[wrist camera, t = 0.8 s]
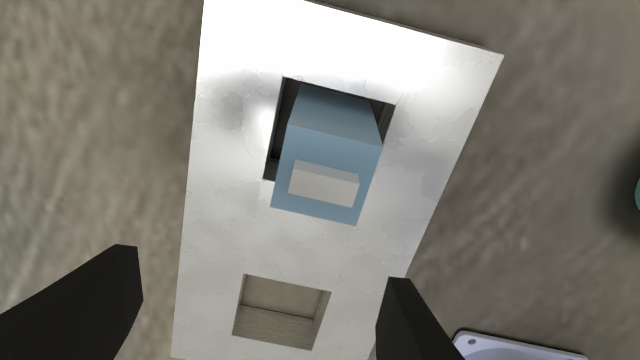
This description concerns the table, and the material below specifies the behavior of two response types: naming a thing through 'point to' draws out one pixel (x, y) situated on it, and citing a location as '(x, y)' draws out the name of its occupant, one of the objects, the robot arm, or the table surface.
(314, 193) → the plug
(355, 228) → the grey socket board
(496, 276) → the table surface
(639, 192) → the cupcake
